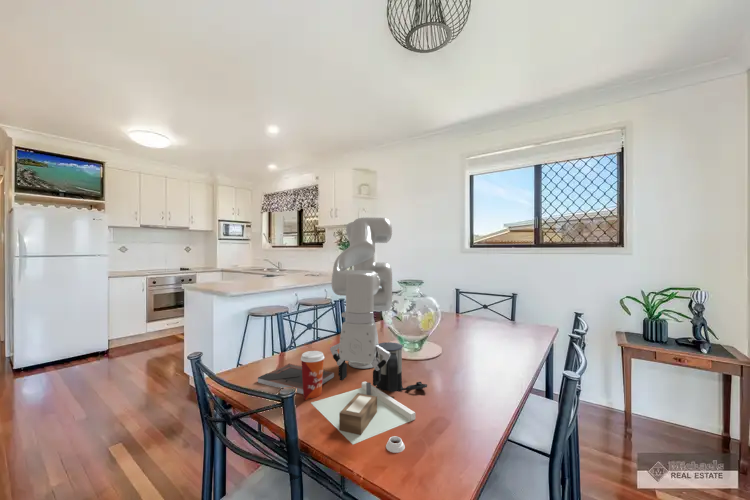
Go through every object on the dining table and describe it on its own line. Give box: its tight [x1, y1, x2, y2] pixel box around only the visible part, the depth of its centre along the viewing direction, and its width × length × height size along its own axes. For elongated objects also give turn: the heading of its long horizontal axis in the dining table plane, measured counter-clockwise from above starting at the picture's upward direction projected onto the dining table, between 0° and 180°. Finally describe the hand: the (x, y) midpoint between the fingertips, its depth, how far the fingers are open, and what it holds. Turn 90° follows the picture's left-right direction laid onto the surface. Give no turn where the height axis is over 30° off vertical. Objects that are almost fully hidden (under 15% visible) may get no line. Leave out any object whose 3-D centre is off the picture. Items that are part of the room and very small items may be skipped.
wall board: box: [310, 380, 416, 445], centre depth 91 cm, size 20×25×5 cm
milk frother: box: [375, 341, 428, 393], centre depth 108 cm, size 14×16×15 cm
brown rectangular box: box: [338, 393, 377, 435], centre depth 86 cm, size 12×6×5 cm, turn 160°
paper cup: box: [300, 350, 325, 401], centre depth 102 cm, size 8×8×14 cm
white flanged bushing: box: [385, 435, 406, 454], centre depth 75 cm, size 5×3×5 cm
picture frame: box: [257, 363, 335, 395], centre depth 116 cm, size 16×2×22 cm
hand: (359, 381), depth 85 cm, fingers open, 9 cm apart
